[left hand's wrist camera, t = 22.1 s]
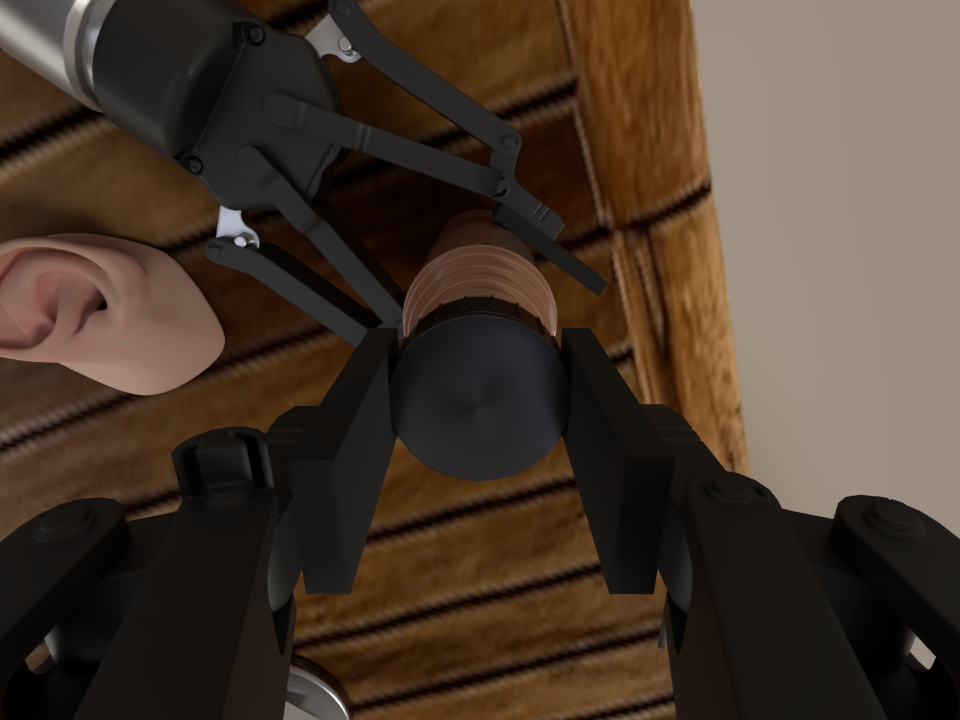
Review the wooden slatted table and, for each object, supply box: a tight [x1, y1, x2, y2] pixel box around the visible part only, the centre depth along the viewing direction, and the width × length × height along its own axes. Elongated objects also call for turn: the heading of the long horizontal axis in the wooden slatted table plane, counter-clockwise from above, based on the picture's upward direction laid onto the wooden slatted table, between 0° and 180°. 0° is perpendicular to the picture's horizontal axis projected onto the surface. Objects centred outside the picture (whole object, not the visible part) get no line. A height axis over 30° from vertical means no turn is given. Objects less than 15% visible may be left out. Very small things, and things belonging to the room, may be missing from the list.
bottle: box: [403, 209, 557, 338], centre depth 23 cm, size 6×6×20 cm
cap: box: [389, 295, 571, 481], centre depth 13 cm, size 5×5×2 cm
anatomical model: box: [0, 233, 225, 395], centre depth 32 cm, size 13×4×12 cm
